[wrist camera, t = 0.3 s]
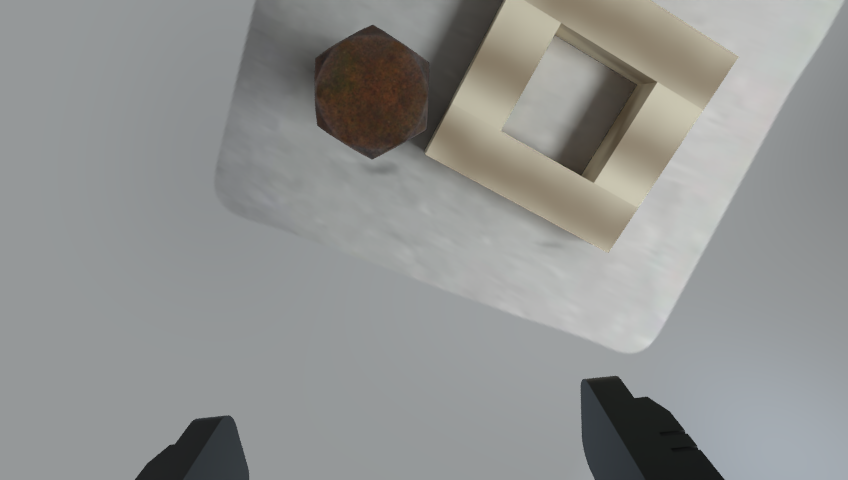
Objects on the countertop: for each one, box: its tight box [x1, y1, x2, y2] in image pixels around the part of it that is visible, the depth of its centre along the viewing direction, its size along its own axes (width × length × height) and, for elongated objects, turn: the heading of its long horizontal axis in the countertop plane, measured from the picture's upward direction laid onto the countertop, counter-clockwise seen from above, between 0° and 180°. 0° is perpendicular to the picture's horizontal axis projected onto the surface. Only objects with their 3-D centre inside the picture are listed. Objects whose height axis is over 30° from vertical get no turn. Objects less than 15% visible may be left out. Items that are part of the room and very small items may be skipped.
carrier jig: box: [424, 0, 738, 253], centre depth 33 cm, size 16×16×3 cm
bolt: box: [315, 25, 429, 159], centre depth 27 cm, size 6×5×15 cm
